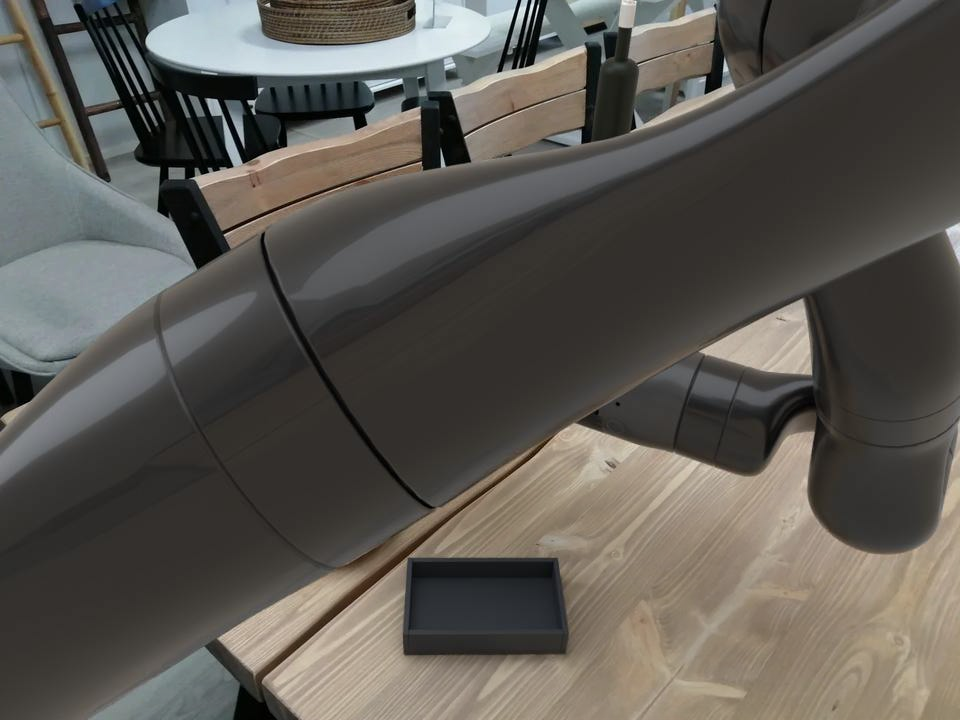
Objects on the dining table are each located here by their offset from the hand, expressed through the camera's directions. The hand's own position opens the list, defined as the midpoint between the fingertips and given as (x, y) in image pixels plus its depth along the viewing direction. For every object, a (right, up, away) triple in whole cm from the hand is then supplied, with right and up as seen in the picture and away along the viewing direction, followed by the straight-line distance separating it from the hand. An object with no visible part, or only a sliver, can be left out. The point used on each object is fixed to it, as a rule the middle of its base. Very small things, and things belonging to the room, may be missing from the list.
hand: (421, 319), depth 57 cm
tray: (+5, -23, -1) cm, 23 cm away
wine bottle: (+25, +23, +64) cm, 72 cm away
